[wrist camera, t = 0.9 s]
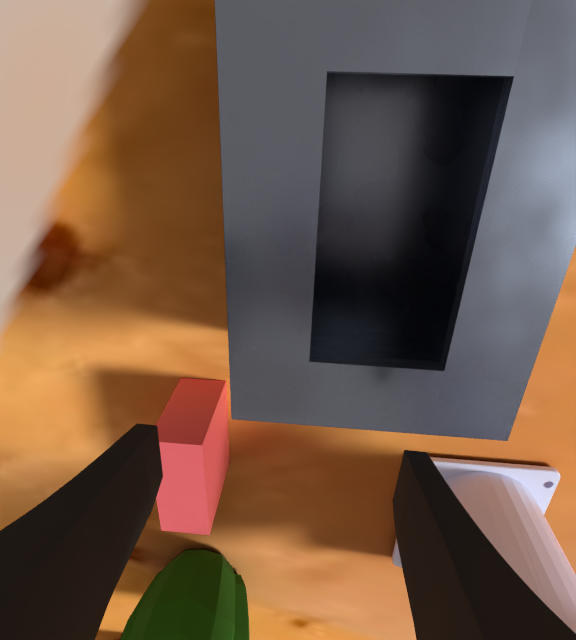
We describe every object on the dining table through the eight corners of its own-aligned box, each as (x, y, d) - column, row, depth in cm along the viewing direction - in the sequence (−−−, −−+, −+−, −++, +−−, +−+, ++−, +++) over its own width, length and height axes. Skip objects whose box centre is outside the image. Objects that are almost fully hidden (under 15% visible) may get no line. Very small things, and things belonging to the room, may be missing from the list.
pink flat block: (230, 461, 26) (209, 534, 21) (189, 457, 26) (161, 530, 21) (226, 380, 23) (202, 445, 19) (181, 377, 23) (146, 440, 19)
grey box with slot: (457, 348, 21) (507, 440, 15) (257, 335, 21) (231, 419, 16) (542, -1, 14) (686, -74, 9) (255, -6, 15) (211, -76, 9)
